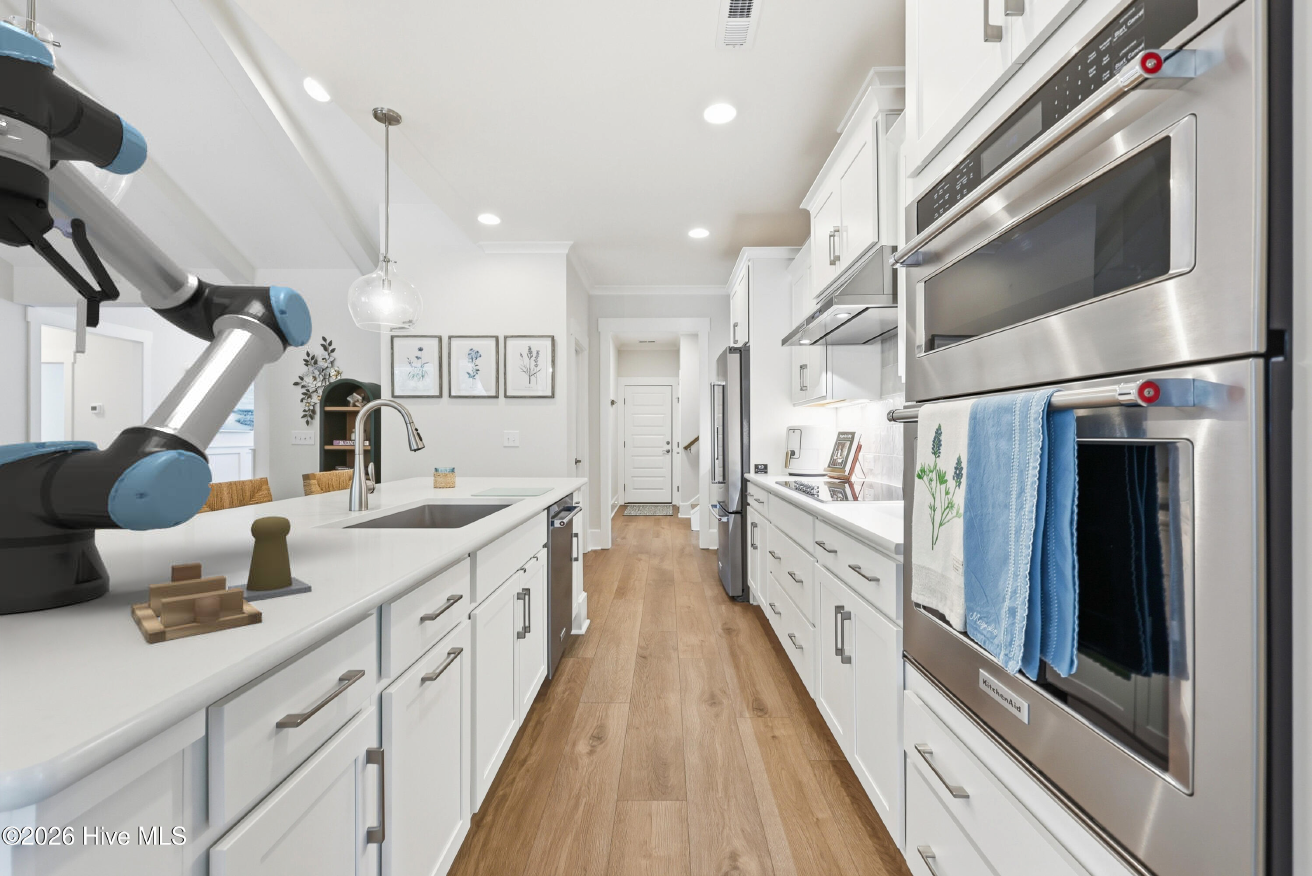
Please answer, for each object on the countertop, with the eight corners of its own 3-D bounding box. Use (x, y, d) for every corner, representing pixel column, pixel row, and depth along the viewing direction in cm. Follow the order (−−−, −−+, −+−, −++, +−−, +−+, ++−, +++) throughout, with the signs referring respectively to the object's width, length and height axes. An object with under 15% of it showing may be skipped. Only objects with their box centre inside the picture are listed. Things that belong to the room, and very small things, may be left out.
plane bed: (131, 613, 75) (132, 569, 75) (230, 597, 84) (231, 558, 84) (148, 643, 64) (150, 592, 64) (261, 622, 72) (262, 576, 72)
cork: (268, 592, 84) (270, 520, 84) (236, 589, 85) (237, 518, 85) (301, 582, 90) (303, 515, 90) (270, 580, 91) (272, 514, 91)
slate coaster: (227, 591, 87) (228, 586, 87) (293, 581, 94) (293, 576, 94) (242, 602, 81) (242, 597, 81) (311, 591, 88) (311, 586, 88)
